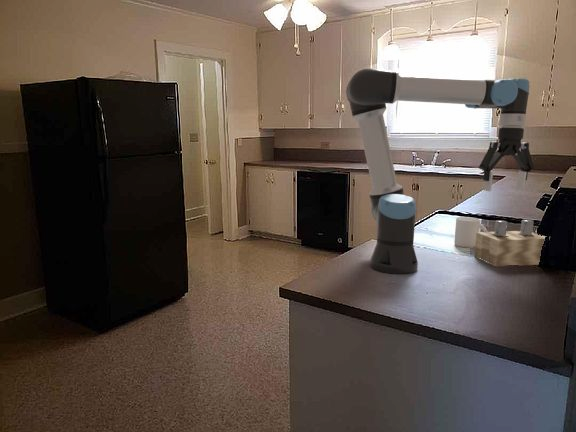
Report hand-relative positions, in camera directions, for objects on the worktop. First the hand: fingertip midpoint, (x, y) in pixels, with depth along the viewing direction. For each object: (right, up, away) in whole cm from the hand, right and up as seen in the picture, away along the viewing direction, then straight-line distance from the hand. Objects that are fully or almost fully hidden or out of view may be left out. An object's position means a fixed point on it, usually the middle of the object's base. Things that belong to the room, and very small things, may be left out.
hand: (503, 190), depth 149 cm
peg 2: (+9, -19, +3) cm, 21 cm away
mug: (-2, -21, +22) cm, 31 cm away
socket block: (+4, -24, +3) cm, 25 cm away
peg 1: (-1, -19, +2) cm, 20 cm away
